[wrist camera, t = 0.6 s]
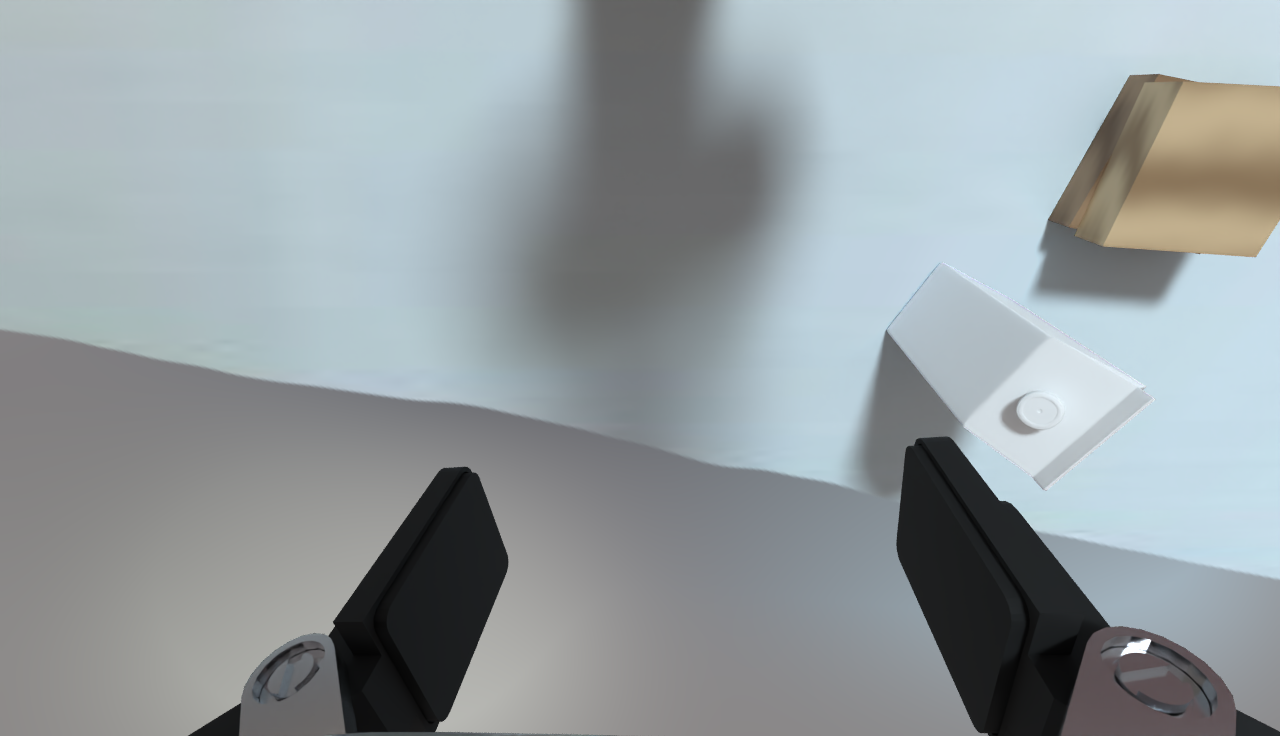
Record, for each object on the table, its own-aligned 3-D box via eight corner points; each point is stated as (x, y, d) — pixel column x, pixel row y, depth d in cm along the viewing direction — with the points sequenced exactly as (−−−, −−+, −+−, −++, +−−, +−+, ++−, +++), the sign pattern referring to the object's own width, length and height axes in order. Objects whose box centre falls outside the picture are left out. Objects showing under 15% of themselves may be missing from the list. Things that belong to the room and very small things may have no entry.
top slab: (1144, 82, 33) (1183, 81, 31) (1308, 91, 33) (1362, 91, 30) (1074, 235, 38) (1102, 246, 35) (1216, 245, 37) (1255, 257, 35)
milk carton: (1009, 297, 43) (1207, 426, 26) (950, 362, 46) (1093, 513, 30) (940, 260, 42) (1099, 369, 26) (884, 329, 45) (994, 466, 29)
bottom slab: (1124, 75, 35) (1158, 74, 33) (1263, 104, 36) (1309, 105, 33) (1044, 218, 40) (1068, 227, 38) (1167, 243, 40) (1199, 254, 38)
